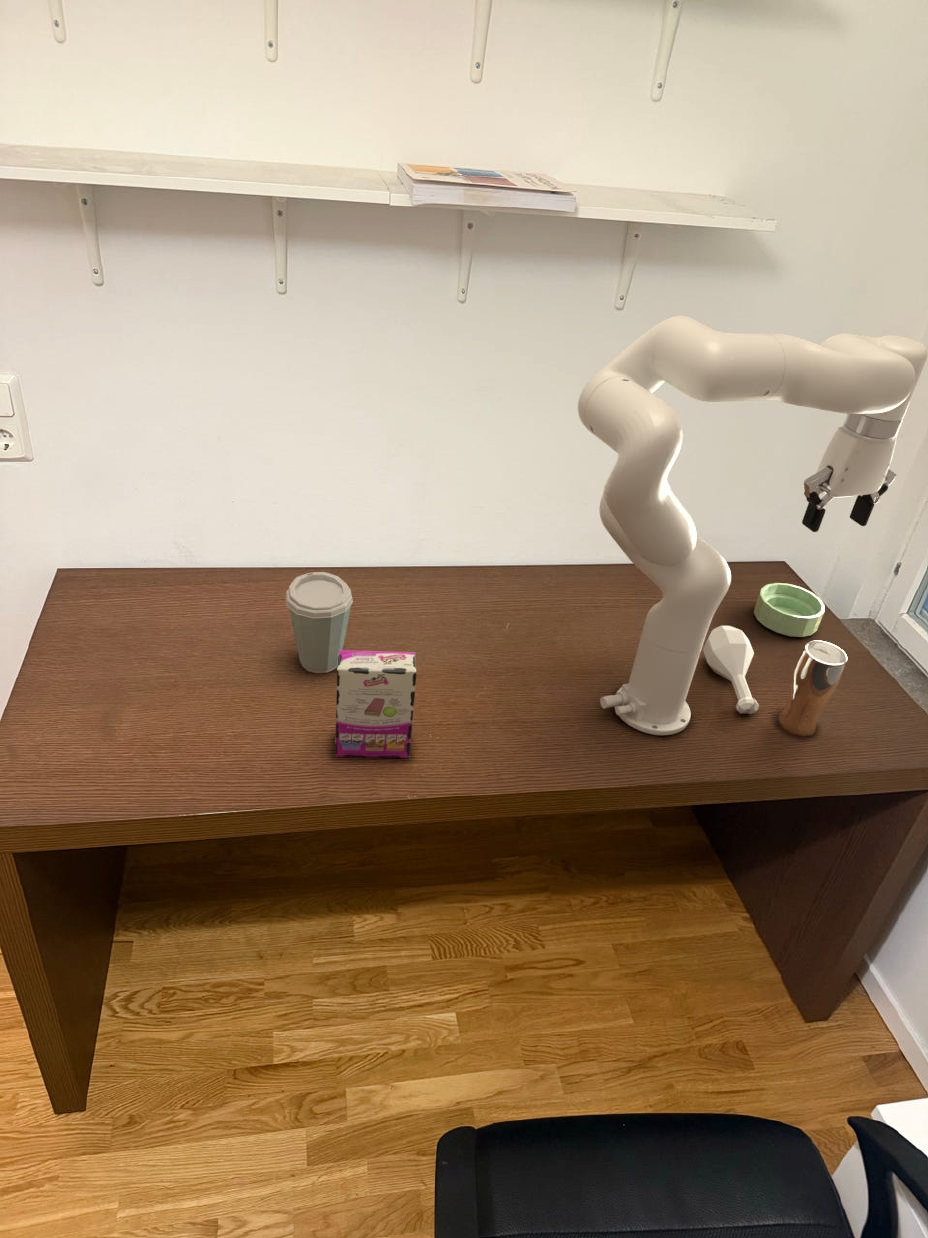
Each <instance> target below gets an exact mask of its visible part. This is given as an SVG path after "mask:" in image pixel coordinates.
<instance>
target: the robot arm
mask: <svg viewBox="0 0 928 1238" xmlns="http://www.w3.org/2000/svg"><path fill="white" fill-rule="evenodd" d="M927 359H928V349H927V347H926V345H924V343H922V342H921V341H918V340H916V339H913V338H910V337H907V336H902V335H894V334H888V335H882V336H879V337H873V336H866V335H860V334H856V333H855V334H854V333H839V334H835V335H832V336H830V337H828V338H826V339H824V340H823V341H822V342H820V343H815V342H812V341H810V340H807V339H805V338H802V337H798V336H795V335H791V334H786V333H745V332H743V333H741V332H724V331H719V330H715V329H714V328H712V327H710V326H707V325H705V324H704V323H702V322H699V321H698V320H696V319H694V318H692V317H690V316H687V315H676V316H671V317H669V318H667V319H664V320H663V321H661V322H658V323H657V324H655V325H654V326H653V327H651V328H650V329H649V330H646V332H644V333H643V334H641V336H639V337H638V338H637V339H635V340H634V341H632V342H631V343H630V344H629V345H628V346H627V347H626V348H624V349H623V350H622V351H620V353H619V354H617V355H616V356H615V357H614V358H613V359H611V360H610V361H609V362H608V363H606V364H605V365H604V366H603V367H602V368H600V370H598V371H597V372H596V373H595V374H594V375H593V376H592V377H590V379H589V380H588V382H587V383H586V384H585V386H584V387H583V389H582V390H581V393H580V395H579V397H578V401H577V402H578V403H577V413H578V417H579V419H580V421H581V423H582V425H583V426H584V427H585V428H586V429H587V431H589V432H590V433H591V434H593V435H594V436H595V437H596V438H598V439H599V440H600V441H601V442H603V443H604V444H606V445H607V446H608V447H609V448H610V449H612V450H613V451H615V453H617V456H618V457H617V459H616V462H615V465H613V468H612V470H611V471H610V474H609V475H608V478H607V480H606V482H605V484H604V486H603V490H602V495H601V498H600V502H599V508H598V509H599V519H600V521H601V523H602V525H603V527H604V528H605V530H606V531H607V533H608V535H610V536H611V538H612V539H613V540H614V542H615V543H616V545H618V547H619V549H621V550H622V552H623V553H624V555H626V557H627V558H628V559H629V560H630V561H631V563H632V564H633V565H634V566H635V567H636V568H637V569H638V570H639V571H641V573H643V575H645V576H646V577H647V578H648V579H649V580H650V581H651V582H653V584H654V586H656V587H657V588H658V589H659V590H660V591H661V594H662V597H661V600H660V601H659V602H656V603H655V604H653V606H652V607H651V608H650V609H649V610H648V612H647V614H646V617H645V619H644V623H643V627H642V630H641V634H640V638H639V639H640V640H639V642H638V646H637V650H636V653H635V657H634V661H633V664H632V668H631V672H630V675H629V679H628V683H623V684H622V686H621V687H620V688H619V689H618V690H617V691H616V693H615V694H610V695H604V696H601V697H600V699H599V704H600V706H601V708H602V709H603V710H605V709H609V708H614V712H615V714H616V715H617V716H618V717H619V718H620V719H621V720H622V721H623V722H624V723H626V724H627V725H628V726H629V727H631V728H633V729H635V730H637V731H640V732H642V733H645V734H649V735H653V736H670V735H675V734H678V733H680V732H682V731H684V730H685V729H686V728H687V726H688V725H689V723H690V720H691V715H692V712H691V708H690V707H689V704H688V703H687V701H686V700H687V697H688V694H689V691H690V687H691V684H692V682H693V678H694V675H695V671H696V669H697V665H698V662H699V659H700V656H701V652H702V651H703V648H704V643H705V640H706V637H707V634H708V631H709V629H710V625H711V623H712V621H713V618H714V616H715V614H716V611H717V610H718V608H719V606H720V604H721V603H722V601H723V600H724V598H725V596H726V594H727V593H728V591H729V588H730V586H731V582H732V573H731V569H730V567H729V564H728V563H727V561H726V560H725V558H724V557H723V556H722V555H721V554H720V552H718V551H717V550H716V549H715V548H713V547H712V546H711V545H710V544H709V543H707V542H706V541H705V540H703V539H702V538H701V537H699V536H698V535H697V530H696V526H695V523H694V521H693V518H692V517H691V515H690V513H689V511H688V510H687V509H686V508H685V506H684V505H683V504H682V502H681V501H680V499H679V498H678V496H677V495H676V494H675V491H674V490H673V489H672V487H671V485H670V483H669V482H668V476H669V473H670V471H671V469H672V467H673V465H674V463H675V461H676V460H677V458H678V455H679V454H680V451H681V447H682V444H683V439H684V432H683V430H684V429H683V426H682V425H683V424H682V422H681V419H680V418H679V415H678V414H677V412H676V411H675V410H674V408H672V406H670V405H669V404H668V403H667V402H666V401H665V400H663V399H661V398H660V397H658V396H657V395H655V394H654V392H655V391H656V390H657V389H659V388H660V387H661V386H662V385H663V384H664V383H667V384H668V385H670V386H672V387H674V388H675V389H677V390H678V391H680V392H681V393H683V394H685V395H686V396H688V397H690V398H692V399H695V400H697V401H701V402H707V403H720V402H724V403H725V402H764V401H765V402H766V401H767V402H769V401H770V402H772V401H774V402H779V403H784V404H787V405H791V406H797V407H803V408H811V409H816V410H821V411H827V412H832V413H838V414H846V416H845V418H844V422H843V423H842V424H843V425H842V426H839V427H838V428H837V429H836V431H835V432H834V434H833V436H832V438H831V439H830V441H829V443H828V445H827V447H826V449H825V451H824V453H823V456H822V457H821V459H820V462H819V465H818V467H817V470H816V473H814V474H813V475H811V476H809V477H807V478H806V479H805V480H803V487H804V490H803V491H804V492H803V494H804V497H805V498H806V501H807V503H808V504H807V506H806V509H805V512H804V515H803V517H802V521H801V524H802V525H803V526H804V527H806V528H807V529H808V530H809V531H811V532H813V533H818V532H819V530H820V528H821V525H822V522H823V518H824V516H825V514H826V510H827V509H825V507H826V506H827V505H828V504H829V503H830V502H831V501H832V500H833V499H834V498H836V499H837V498H846V497H848V498H849V497H856V496H857V497H856V499H855V501H854V503H853V506H852V509H851V512H850V513H849V519H850V520H852V521H853V522H855V523H856V524H858V525H859V526H860V527H866V526H867V524H868V522H869V519H870V517H871V514H872V512H873V510H874V507H875V505H876V504H878V503H879V502H880V500H881V496H882V495H884V494H885V493H886V492H887V491H888V490H889V486H891V484H892V483H893V482H894V481H895V479H896V478H897V473H895V472H894V471H892V470H891V469H890V466H891V462H892V460H893V456H894V452H895V448H896V444H897V439H898V432H899V429H900V427H901V426H902V422H903V421H904V417H905V415H906V413H907V411H908V410H907V409H908V407H909V405H910V403H911V400H912V398H913V395H914V392H915V390H916V387H917V385H918V382H919V380H920V377H921V374H922V373H923V370H924V367H925V364H926V362H927ZM828 487H829V488H828ZM823 493H824V494H825V495H824V496H823V497H820V496H821V495H822V494H823Z"/></svg>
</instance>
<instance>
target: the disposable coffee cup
mask: <svg viewBox="0 0 928 1238" xmlns="http://www.w3.org/2000/svg"><path fill="white" fill-rule="evenodd" d="M353 603H354V599H353V596H352V591H351V588H350V587H349V586H348V584H347V583H346V582H345V580H343V579H342V578H340V577H339V575H335V574H332V573H329V572H325V571H314V572H313V571H312V572H308V573H306V572H305V573H304V574H301V575H298V576H296V577H295V578H294V579H293V580H292V582H291V584H290V585H289V586H288V589H287V590H286V592H285V604H286V607H287V608H288V610H289V615H290V621H291V624H292V631H293V634H294V638H295V644H296V648H297V653H298V654H297V655H298V658H299V663H300V664H301V667H303V668H304V670H306V671H307V672H310V673H314V674H317V675H318V674H327V673H330V672H332V671H334V670H336V669H337V663H338V655H339V650H344V646H345V645H344V644H345V639H346V633H347V629H348V624H349V617H350V615H351V614H350V613H351V609H352V604H353Z"/></svg>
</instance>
